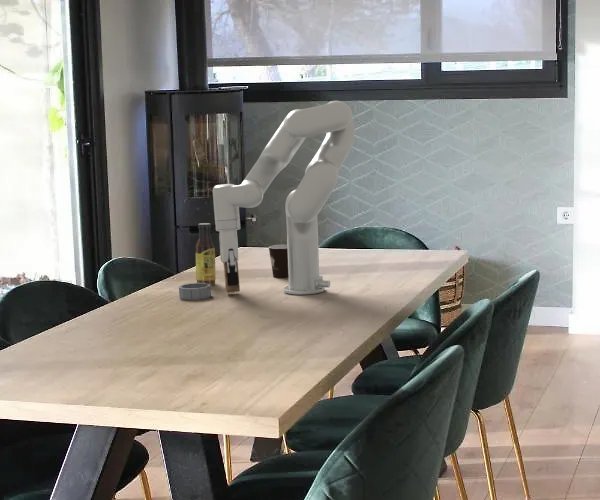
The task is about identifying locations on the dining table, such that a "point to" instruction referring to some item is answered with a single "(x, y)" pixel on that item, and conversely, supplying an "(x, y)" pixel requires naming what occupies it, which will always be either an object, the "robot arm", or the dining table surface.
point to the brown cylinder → (229, 288)
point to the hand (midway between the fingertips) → (232, 283)
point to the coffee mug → (279, 261)
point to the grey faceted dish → (194, 291)
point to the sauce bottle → (205, 256)
